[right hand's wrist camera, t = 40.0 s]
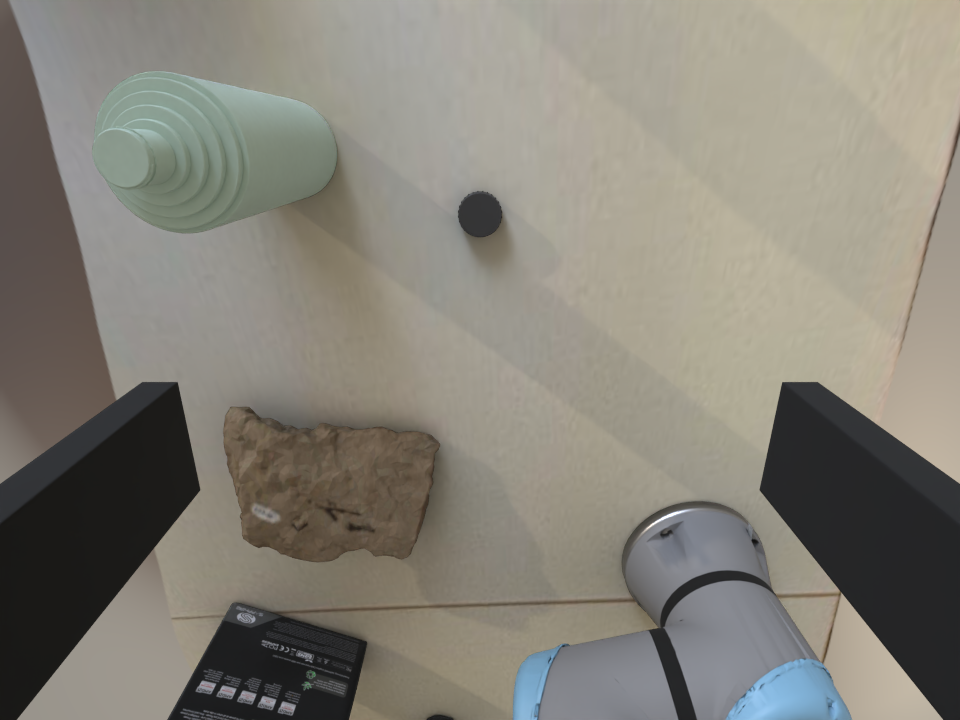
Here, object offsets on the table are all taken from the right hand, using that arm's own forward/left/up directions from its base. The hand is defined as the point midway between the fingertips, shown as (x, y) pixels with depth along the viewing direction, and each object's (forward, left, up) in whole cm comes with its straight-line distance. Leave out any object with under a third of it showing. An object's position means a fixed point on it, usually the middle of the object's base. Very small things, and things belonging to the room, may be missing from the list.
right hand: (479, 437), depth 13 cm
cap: (0, 0, -39) cm, 39 cm away
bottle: (+3, +17, -41) cm, 44 cm away
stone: (-28, +11, -41) cm, 51 cm away
